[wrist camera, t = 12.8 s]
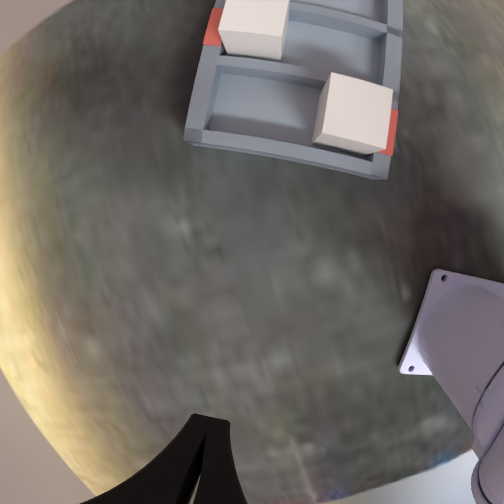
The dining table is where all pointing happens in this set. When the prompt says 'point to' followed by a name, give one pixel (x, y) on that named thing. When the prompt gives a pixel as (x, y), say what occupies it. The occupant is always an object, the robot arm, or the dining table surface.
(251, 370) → the dining table surface
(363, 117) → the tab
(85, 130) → the dining table surface
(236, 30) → the tab mid
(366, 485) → the dining table surface
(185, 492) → the robot arm
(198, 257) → the dining table surface
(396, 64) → the switch bank
